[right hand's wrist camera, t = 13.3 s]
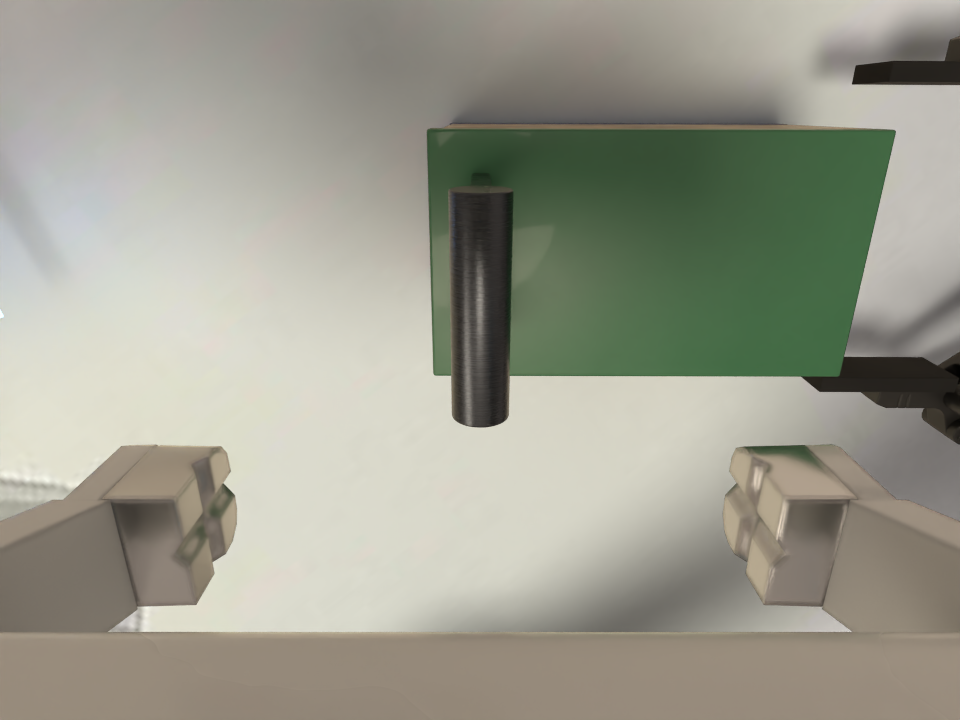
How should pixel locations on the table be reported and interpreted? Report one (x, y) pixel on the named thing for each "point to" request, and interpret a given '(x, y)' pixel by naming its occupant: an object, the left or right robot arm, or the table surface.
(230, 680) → the right robot arm
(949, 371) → the left robot arm
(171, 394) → the table surface
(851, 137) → the lid
